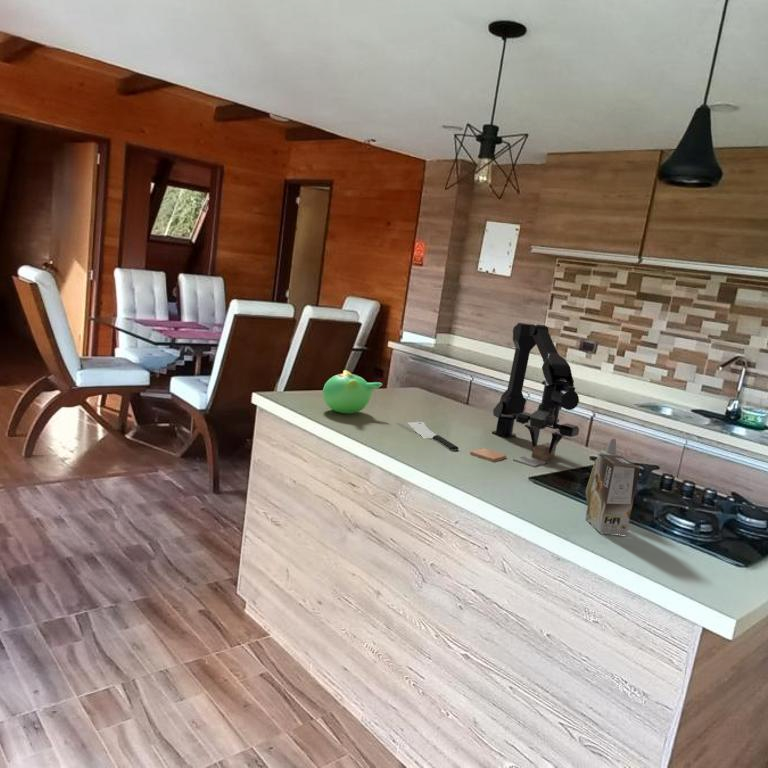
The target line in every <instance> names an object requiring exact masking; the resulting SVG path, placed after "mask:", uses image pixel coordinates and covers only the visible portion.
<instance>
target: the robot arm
mask: <svg viewBox="0 0 768 768" xmlns="http://www.w3.org/2000/svg"><path fill="white" fill-rule="evenodd" d="M512 341H513V344H514V347H515V350H514V356H513V360H512V365H511V369H510V375H509V380H508V385H507V389H506V390H505V391H504V392H503V393H502V394H501V397H500V399H499V402H498V403H497V404H496V405H495V407H494V408H493V411H492V413H493V414H492V415H493V416H494V417H495V418H498V419H497V422H496V429H495V430H493V431H491V433H492V434H494V435H498V436H501V437H504V438H511V437H512V438H513V437H516V436H517V434H516V433H513V432H514V426H515V422H516V423H519V424H525V425H524V427H525V428H527V429H528V431H529V435H530V438H531V444H532V447H533V446H537V445H538V442H539V437H540V432H541V430H543V429H546V428H549V429H553V430H554V431H555V432H551V441H550V448H549V453H552V451H553V450H554V448H555V447H556V448H557V446H558V444H559V442H560V441H561V440H562V439H563V438H564V437H569V438H572V437H577V436H579V432H580V427H579V426H578V425H575V424H572V423H569V422H567V423H566V422H565V423H562V424H561V423H560V419H559V415H560V410H562V408H563V409H565V410H567V411H571V410H574V409H575V408H577V407H578V405H579V402H580V397H579V395H578V393H577V392H576V387H575V384H574V382H575V381H574V377H573V373H572V370H571V365H570V364H569V363H568V361H567V360H566V359H565V358H564V357H562V356H561V355H560V354H559V353H558V350H557V348H556V346H555V344H554V342H553V339H552V337H551V335H550V334H549V327H548V326H546V325H545V324H537V323H534V324H531V323H526V322H525V323H524V322H518V323H517V324H516V325H514V327H513V329H512ZM535 346H536V348H537V349H538V351H539V354H540V357H541V358H542V362H543V364H542V366H541V370H542V375H543V377H544V379H545V380H543V381H542V382H541V384H542V385H543V386H544V387H543V390H542V391H543V392H542V398H541V403H539V404H538V408H537V409H536V410H535V411H534V412H532V413H531V412H527V411H525V406H526V402H527V400H526V398H525V397H524V393H523V387H524V383H525V378H526V373H527V368H528V363H529V358H530V353H531V351H532V349H534V347H535ZM524 411H525V412H524Z"/></svg>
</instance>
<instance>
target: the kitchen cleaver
mask: <svg viewBox="0 0 768 768" xmlns="http://www.w3.org/2000/svg"><path fill="white" fill-rule="evenodd" d="M407 423H408V424H409V425H410V426H411V427H412V428H414V430H415V431H416V432H417V433H418V434H420V435H421V436H422V437H423V439H424V440H425V439H429V440H432V439H433V441H435V442H437V443H439V444H440V445H441V446H443V447H445V448H446V449H447V450H448V451H451V452H458V451H459V447H458V446H457V445H455V444H454V443H453V442H450V441H449V440H447V439H446V438H444V437H443V436H441V435H439V434H436V433H434V432H433V431H432V430H430V428H428V426H426V423H425V422H423V421H413V422H407ZM418 434H417V435H418ZM421 436H420V437H421ZM422 437H421V438H422Z"/></svg>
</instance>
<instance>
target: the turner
mask: <svg viewBox="0 0 768 768" xmlns="http://www.w3.org/2000/svg"><path fill="white" fill-rule="evenodd" d="M550 444H551V442H544V443H542V444H537V446H533V445H532V452H531V456H529V455H523V456H519V457H516V458H513V460H512V461H514V462H516V463H520V464H523V465H526V466H529V467H532V468H535V467H536V468H537V467H539V466H542V464H543V465H546V464H547V461H546V460H550V459H552V458H555V456H556V455H555V454H556V449H557V446H556V447H555V448H554V450H553V451H552V453H549V448H550ZM549 458H550V459H549ZM545 463H546V464H545Z"/></svg>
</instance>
